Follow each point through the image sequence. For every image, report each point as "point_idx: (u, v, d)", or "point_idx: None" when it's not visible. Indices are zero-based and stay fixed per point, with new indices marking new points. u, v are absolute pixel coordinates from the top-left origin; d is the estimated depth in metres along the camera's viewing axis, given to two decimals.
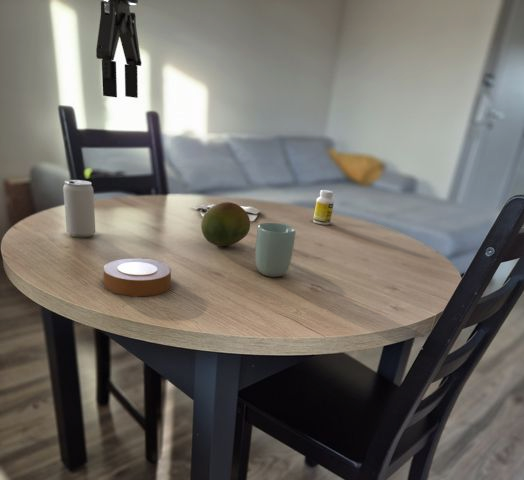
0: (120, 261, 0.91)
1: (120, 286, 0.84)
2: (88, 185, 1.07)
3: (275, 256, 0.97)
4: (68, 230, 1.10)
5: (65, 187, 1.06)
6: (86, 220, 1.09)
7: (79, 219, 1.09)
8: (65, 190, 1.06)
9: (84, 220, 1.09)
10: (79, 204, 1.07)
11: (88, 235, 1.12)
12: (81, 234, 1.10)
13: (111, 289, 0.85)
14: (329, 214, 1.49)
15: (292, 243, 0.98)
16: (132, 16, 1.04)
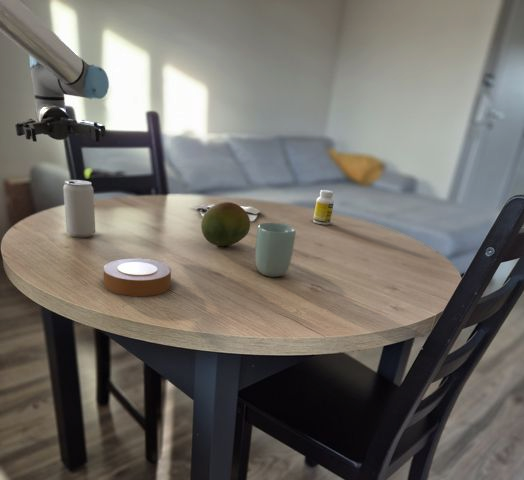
0: (120, 261, 0.91)
1: (120, 286, 0.84)
2: (88, 185, 1.07)
3: (275, 256, 0.97)
4: (68, 230, 1.10)
5: (65, 187, 1.06)
6: (86, 220, 1.09)
7: (79, 219, 1.09)
8: (65, 190, 1.06)
9: (84, 220, 1.09)
10: (80, 204, 1.07)
11: (88, 235, 1.12)
12: (81, 234, 1.10)
13: (111, 289, 0.85)
14: (329, 214, 1.49)
15: (292, 243, 0.98)
16: None
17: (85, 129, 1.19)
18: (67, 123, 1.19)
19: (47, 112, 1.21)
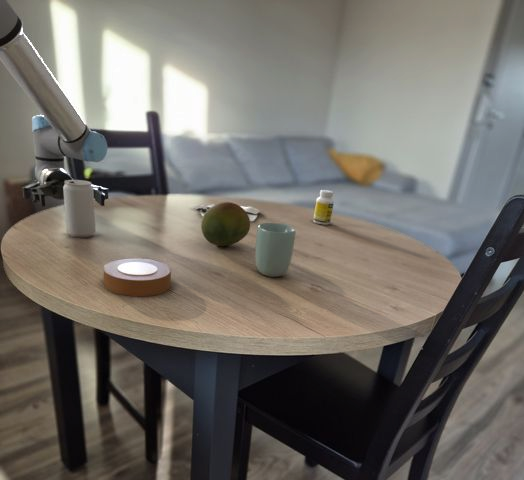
0: (120, 261, 0.91)
1: (120, 286, 0.84)
2: (88, 185, 1.07)
3: (275, 256, 0.97)
4: (68, 230, 1.10)
5: (65, 187, 1.06)
6: (86, 220, 1.09)
7: (79, 219, 1.09)
8: (65, 190, 1.06)
9: (84, 220, 1.09)
10: (80, 204, 1.07)
11: (88, 235, 1.12)
12: (81, 234, 1.10)
13: (111, 289, 0.85)
14: (329, 214, 1.49)
15: (292, 243, 0.98)
16: None
17: None
18: None
19: (51, 174, 1.26)
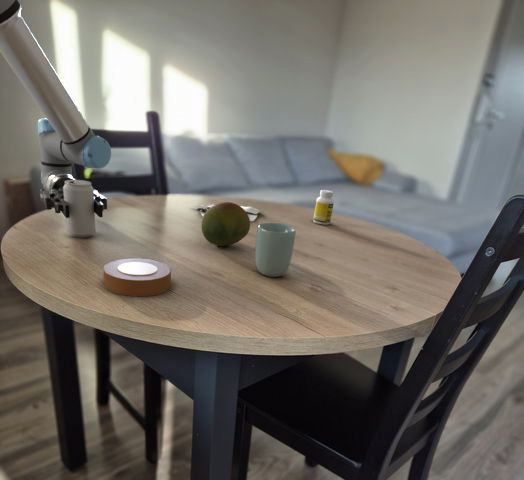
0: (120, 261, 0.91)
1: (120, 286, 0.84)
2: (88, 185, 1.07)
3: (275, 256, 0.97)
4: (68, 230, 1.10)
5: (65, 187, 1.06)
6: (86, 220, 1.09)
7: (79, 219, 1.09)
8: (65, 190, 1.06)
9: (84, 220, 1.09)
10: (79, 204, 1.07)
11: (88, 235, 1.12)
12: (81, 234, 1.10)
13: (111, 289, 0.85)
14: (329, 214, 1.49)
15: (292, 243, 0.98)
16: None
17: None
18: None
19: (58, 181, 1.19)
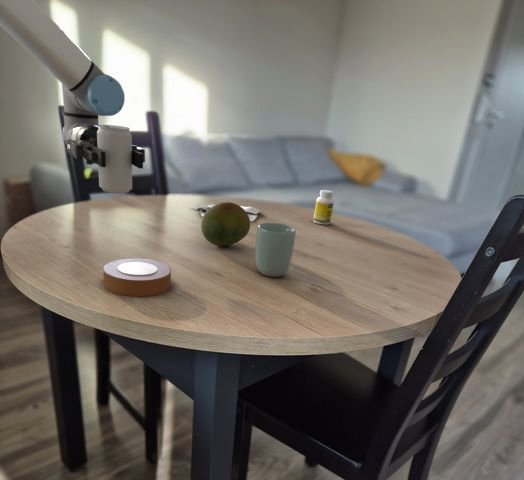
0: (120, 261, 0.91)
1: (120, 286, 0.84)
2: (126, 130, 0.91)
3: (275, 256, 0.97)
4: (102, 184, 0.94)
5: (100, 131, 0.90)
6: (123, 172, 0.93)
7: (116, 171, 0.93)
8: (100, 135, 0.90)
9: (121, 172, 0.93)
10: (116, 152, 0.91)
11: (125, 191, 0.96)
12: (117, 189, 0.94)
13: (111, 289, 0.85)
14: (329, 214, 1.49)
15: (292, 243, 0.98)
16: None
17: None
18: None
19: (86, 131, 1.02)
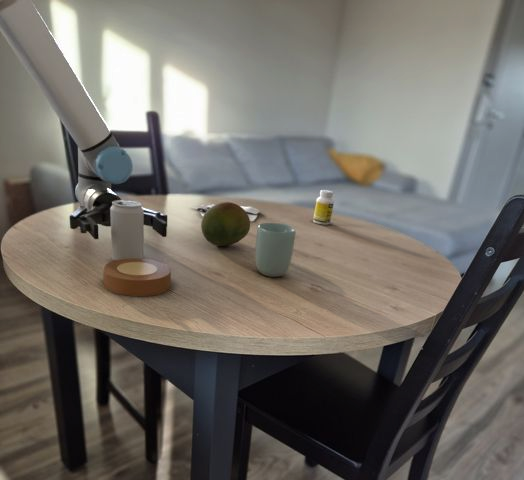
0: (120, 261, 0.91)
1: (120, 286, 0.84)
2: (139, 206, 0.94)
3: (275, 256, 0.97)
4: (114, 257, 0.98)
5: (113, 209, 0.93)
6: (135, 246, 0.97)
7: (128, 245, 0.96)
8: (113, 212, 0.94)
9: (134, 246, 0.96)
10: (129, 228, 0.94)
11: None
12: None
13: (111, 289, 0.85)
14: (329, 214, 1.49)
15: (292, 243, 0.98)
16: None
17: (145, 219, 1.04)
18: None
19: (99, 197, 1.05)
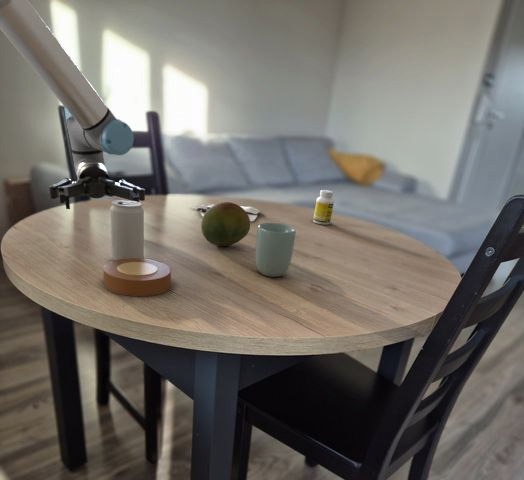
0: (120, 261, 0.91)
1: (120, 286, 0.84)
2: (139, 206, 0.94)
3: (275, 256, 0.97)
4: (114, 257, 0.98)
5: (113, 209, 0.93)
6: (135, 246, 0.97)
7: (128, 245, 0.96)
8: (113, 212, 0.94)
9: (134, 246, 0.96)
10: (129, 228, 0.94)
11: None
12: None
13: (111, 289, 0.85)
14: (329, 214, 1.49)
15: (292, 243, 0.98)
16: None
17: (123, 192, 1.10)
18: (105, 184, 1.11)
19: (85, 170, 1.13)
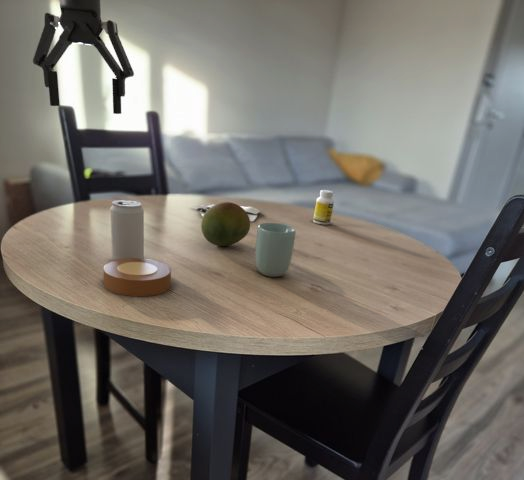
0: (120, 261, 0.91)
1: (120, 286, 0.84)
2: (139, 206, 0.94)
3: (275, 256, 0.97)
4: (114, 257, 0.98)
5: (113, 209, 0.93)
6: (135, 246, 0.97)
7: (128, 245, 0.96)
8: (113, 212, 0.94)
9: (134, 246, 0.96)
10: (129, 228, 0.94)
11: None
12: None
13: (111, 289, 0.85)
14: (329, 214, 1.49)
15: (292, 243, 0.98)
16: None
17: None
18: (89, 41, 0.96)
19: (64, 7, 0.92)
